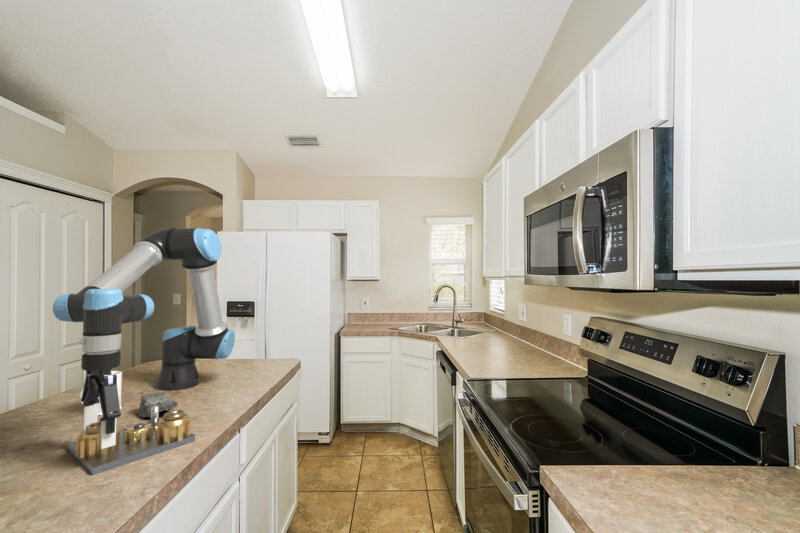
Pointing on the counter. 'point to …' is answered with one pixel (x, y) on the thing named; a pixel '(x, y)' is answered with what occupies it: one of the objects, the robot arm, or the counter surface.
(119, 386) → the mug
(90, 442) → the gear
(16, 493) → the counter surface
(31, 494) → the counter surface
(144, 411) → the rock
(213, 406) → the counter surface
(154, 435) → the carrier
